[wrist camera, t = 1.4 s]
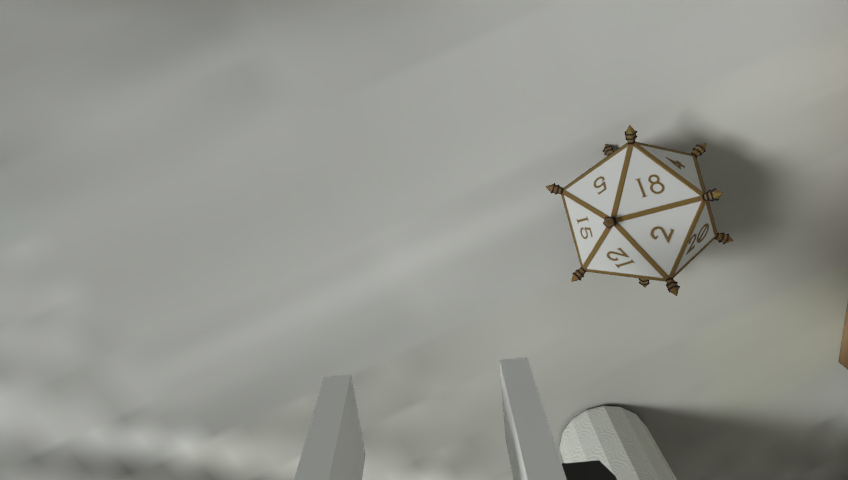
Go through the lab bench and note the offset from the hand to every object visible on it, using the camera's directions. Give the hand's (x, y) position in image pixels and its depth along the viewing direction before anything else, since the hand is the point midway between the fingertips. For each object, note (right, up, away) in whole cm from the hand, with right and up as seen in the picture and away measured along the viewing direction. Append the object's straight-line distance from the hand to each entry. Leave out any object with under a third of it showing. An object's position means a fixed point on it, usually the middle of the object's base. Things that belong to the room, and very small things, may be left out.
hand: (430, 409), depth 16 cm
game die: (+11, +7, +17) cm, 22 cm away
